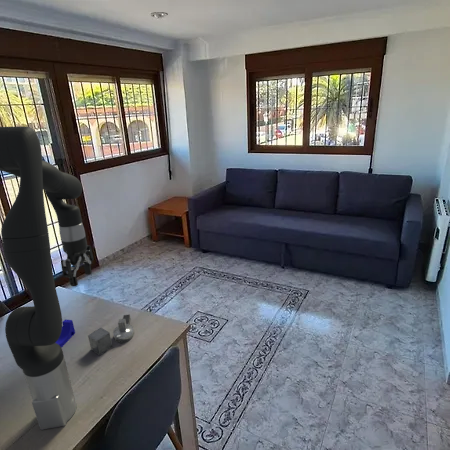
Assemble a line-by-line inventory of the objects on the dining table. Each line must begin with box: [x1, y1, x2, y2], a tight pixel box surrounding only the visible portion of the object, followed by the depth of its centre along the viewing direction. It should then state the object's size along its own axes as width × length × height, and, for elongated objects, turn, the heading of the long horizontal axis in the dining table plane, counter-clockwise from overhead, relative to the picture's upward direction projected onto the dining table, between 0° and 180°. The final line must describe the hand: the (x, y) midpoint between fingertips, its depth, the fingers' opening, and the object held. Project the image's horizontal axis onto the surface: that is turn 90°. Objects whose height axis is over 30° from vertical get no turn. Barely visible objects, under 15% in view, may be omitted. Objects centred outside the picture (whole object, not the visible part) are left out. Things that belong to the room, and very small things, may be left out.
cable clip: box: [55, 319, 76, 349], centre depth 112 cm, size 12×4×6 cm, turn 169°
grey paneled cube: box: [87, 327, 113, 356], centre depth 109 cm, size 5×5×6 cm
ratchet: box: [112, 314, 135, 343], centre depth 117 cm, size 14×7×6 cm, turn 10°
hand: (81, 279), depth 111 cm, fingers open, 8 cm apart
